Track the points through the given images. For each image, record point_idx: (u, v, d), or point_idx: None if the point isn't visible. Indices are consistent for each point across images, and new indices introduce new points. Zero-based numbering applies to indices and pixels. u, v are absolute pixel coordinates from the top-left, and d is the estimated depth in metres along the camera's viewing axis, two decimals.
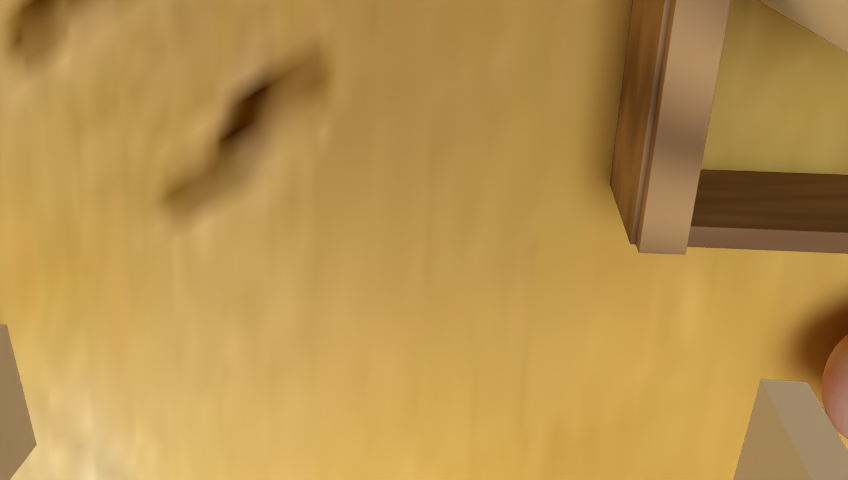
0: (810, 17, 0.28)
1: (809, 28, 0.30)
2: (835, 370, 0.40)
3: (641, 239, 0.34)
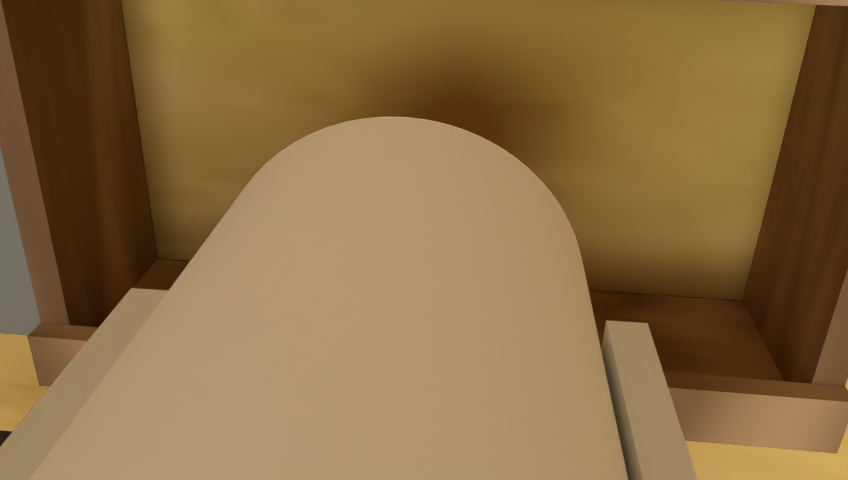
0: None
1: None
2: None
3: (816, 450, 0.25)
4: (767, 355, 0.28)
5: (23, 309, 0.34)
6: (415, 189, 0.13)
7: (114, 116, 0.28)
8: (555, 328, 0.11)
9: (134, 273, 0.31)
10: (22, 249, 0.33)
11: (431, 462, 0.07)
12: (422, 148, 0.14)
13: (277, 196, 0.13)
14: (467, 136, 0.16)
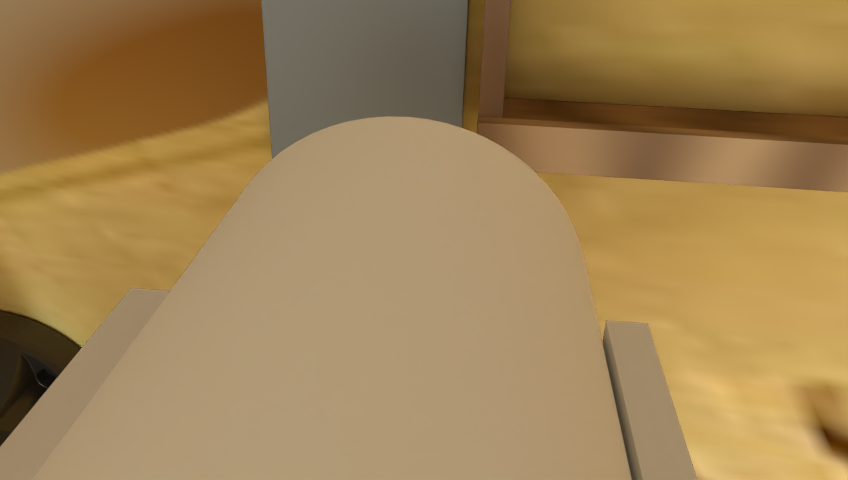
0: None
1: None
2: None
3: None
4: None
5: None
6: (418, 190, 0.13)
7: None
8: (559, 329, 0.11)
9: None
10: (394, 88, 0.39)
11: (435, 465, 0.07)
12: (424, 148, 0.14)
13: (279, 196, 0.13)
14: (470, 136, 0.15)
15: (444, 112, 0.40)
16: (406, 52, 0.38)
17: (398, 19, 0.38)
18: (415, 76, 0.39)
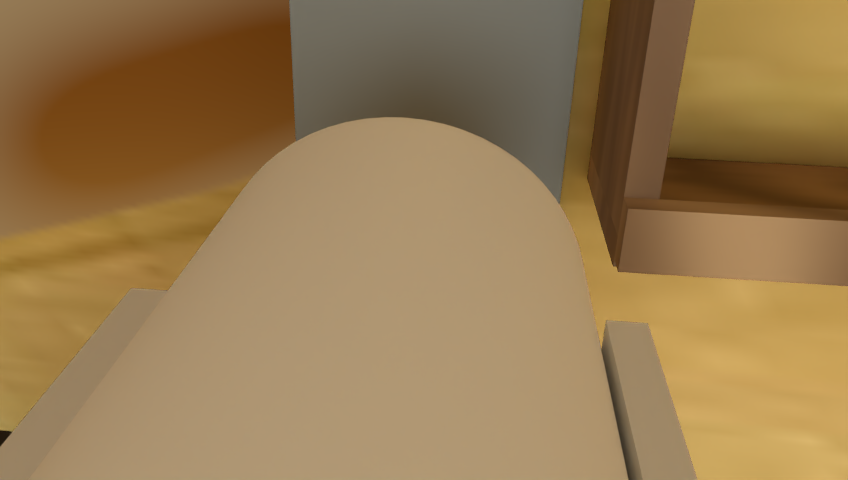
0: None
1: None
2: None
3: None
4: None
5: None
6: (415, 190, 0.13)
7: None
8: (556, 330, 0.11)
9: None
10: None
11: (430, 468, 0.07)
12: (422, 149, 0.14)
13: (276, 197, 0.13)
14: (467, 137, 0.15)
15: (538, 174, 0.29)
16: (489, 96, 0.28)
17: (482, 51, 0.27)
18: (501, 128, 0.28)
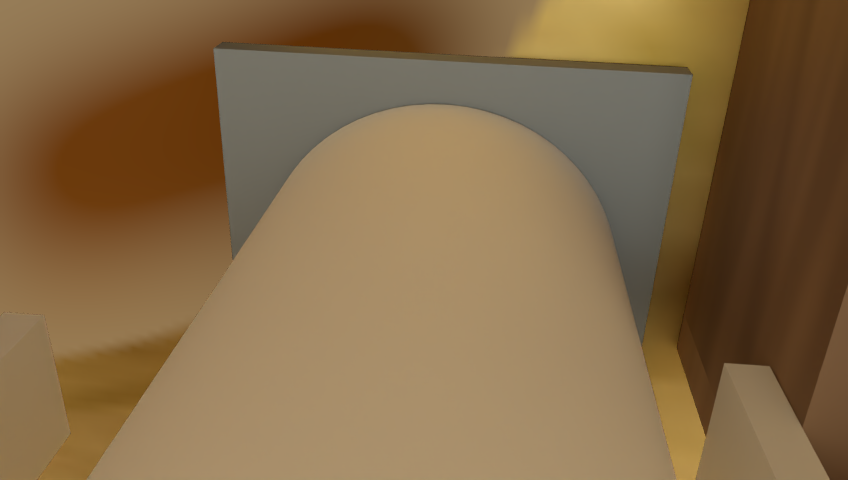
0: None
1: None
2: None
3: None
4: None
5: None
6: (464, 170, 0.13)
7: None
8: (598, 298, 0.12)
9: None
10: None
11: (500, 404, 0.08)
12: (466, 133, 0.15)
13: (333, 176, 0.14)
14: (506, 123, 0.16)
15: None
16: None
17: None
18: None
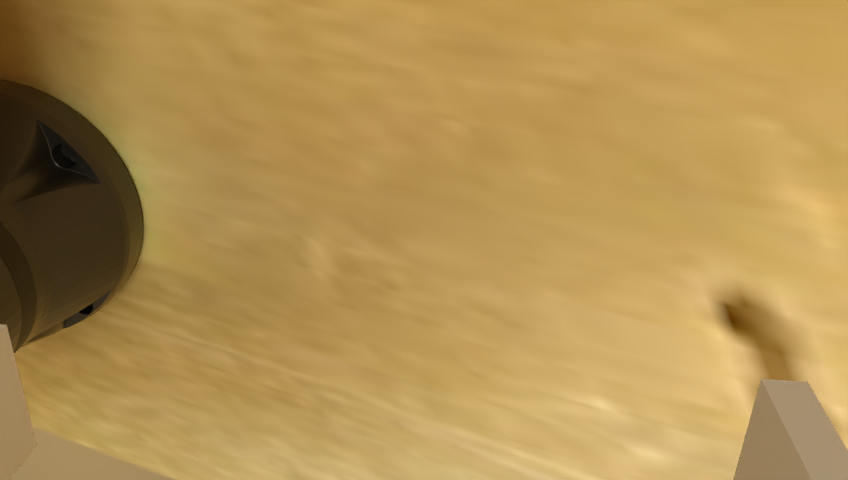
0: None
1: None
2: None
3: None
4: None
5: None
6: None
7: None
8: None
9: None
10: None
11: None
12: None
13: None
14: None
15: None
16: None
17: None
18: None
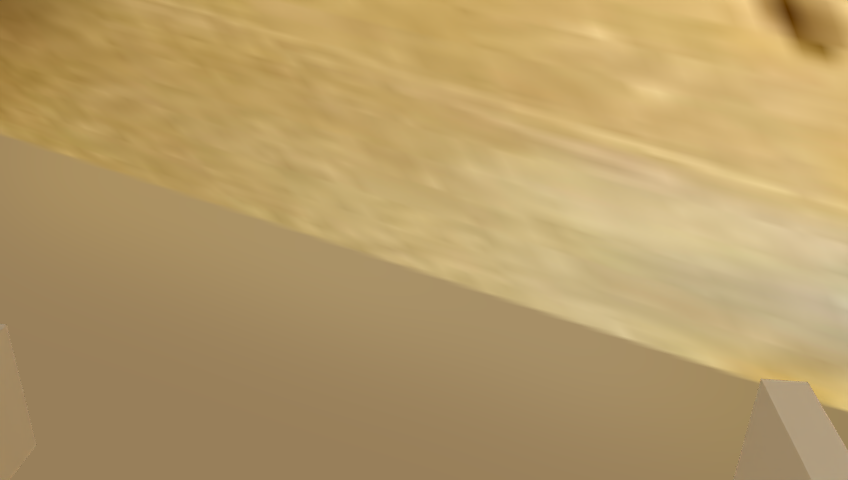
0: None
1: None
2: None
3: None
4: None
5: None
6: None
7: None
8: None
9: None
10: None
11: None
12: None
13: None
14: None
15: None
16: None
17: None
18: None
